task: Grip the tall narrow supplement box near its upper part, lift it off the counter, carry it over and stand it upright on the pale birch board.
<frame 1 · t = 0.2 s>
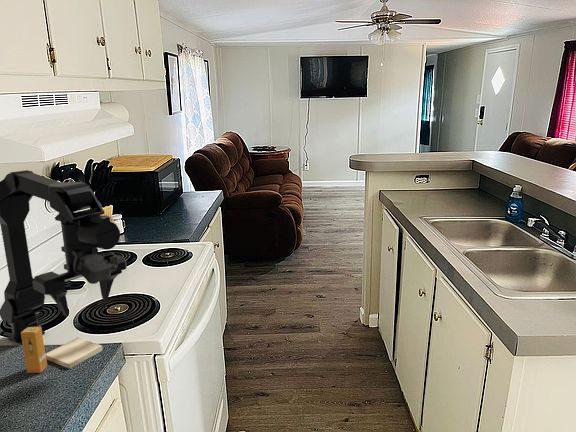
hand: (86, 308, 99), 14 cm above the counter, tool pointing down, fingers open, 9 cm apart
supplement box: (37, 370, 101), on the counter
birch board: (74, 354, 107), on the counter
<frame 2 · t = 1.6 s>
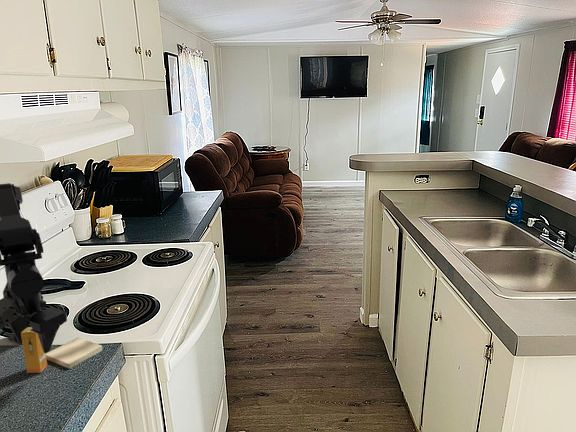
hand: (33, 346, 100), 6 cm above the counter, tool pointing down, fingers open, 9 cm apart
nothing on the counter moved.
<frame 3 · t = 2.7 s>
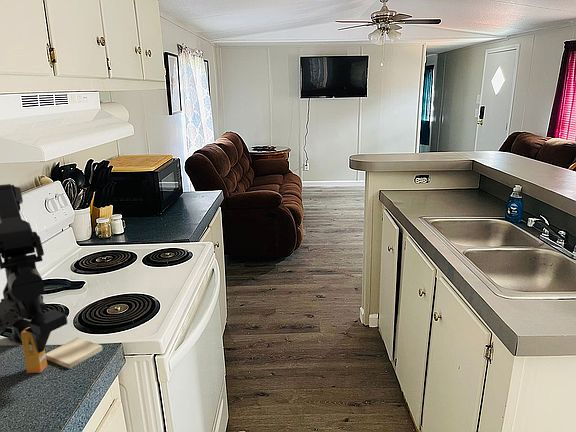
hand: (34, 349, 100), 5 cm above the counter, tool pointing down, fingers closed on supplement box, 4 cm apart
supplement box: (37, 370, 101), on the counter, touching gripper
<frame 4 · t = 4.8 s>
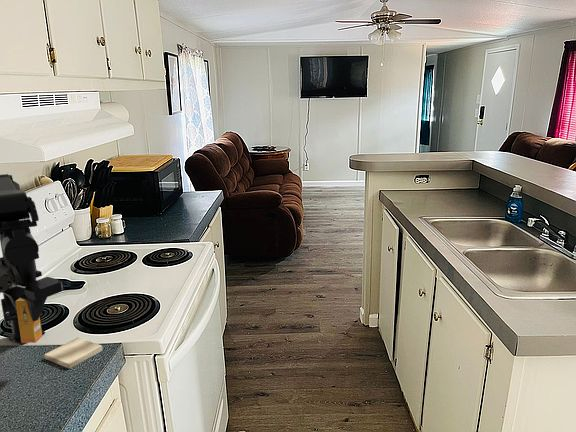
hand: (29, 318, 98), 13 cm above the counter, tool pointing down, fingers closed on supplement box, 4 cm apart
supplement box: (32, 340, 100), point 7 cm above the counter, touching gripper
when the fingers open (9 cm above the counter, at t = 6.8 s): supplement box drops 3 cm, resting on birch board.
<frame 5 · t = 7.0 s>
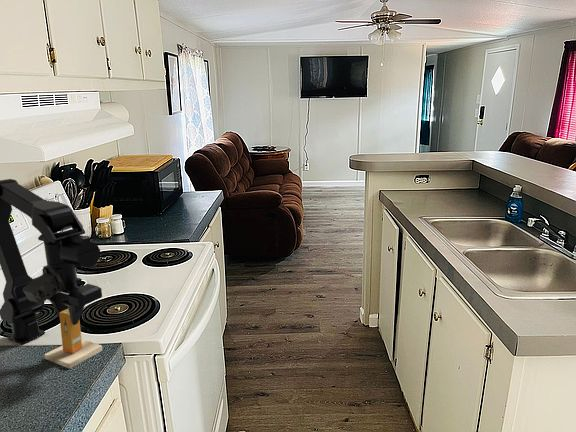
hand: (69, 322, 105), 8 cm above the counter, tool pointing down, fingers open, 4 cm apart
supplement box: (73, 350, 107), point 1 cm above the counter, touching birch board, gripper
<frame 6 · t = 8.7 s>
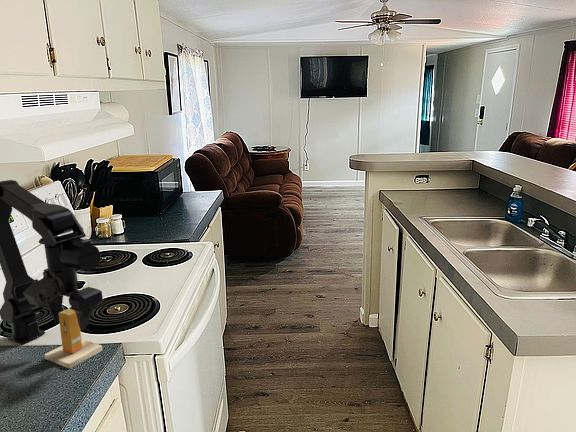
hand: (70, 325, 105), 8 cm above the counter, tool pointing down, fingers open, 9 cm apart
supplement box: (73, 350, 107), point 1 cm above the counter, touching birch board
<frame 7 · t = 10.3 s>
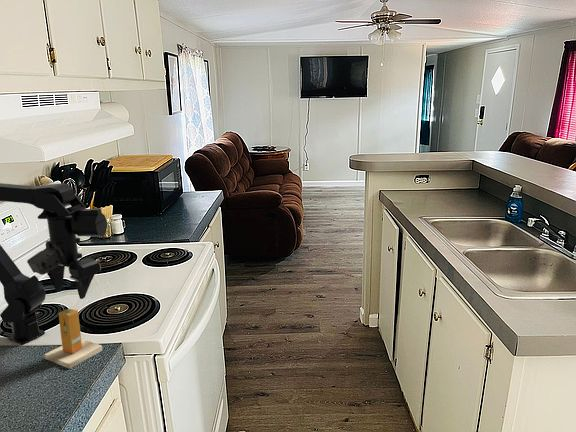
hand: (70, 294, 112), 12 cm above the counter, tool pointing down, fingers open, 9 cm apart
nothing on the counter moved.
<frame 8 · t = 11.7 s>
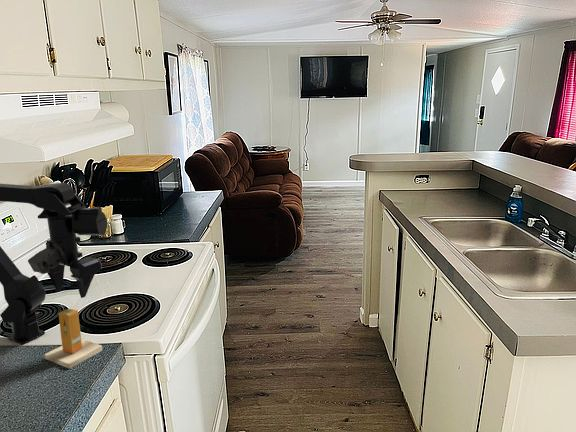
hand: (71, 293, 113), 12 cm above the counter, tool pointing down, fingers open, 9 cm apart
nothing on the counter moved.
at the end: supplement box 0.3 cm off-centre on the birch board, point 1.0 cm above the birch board's base; supplement box tilted 0°; the gripper is holding nothing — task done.
